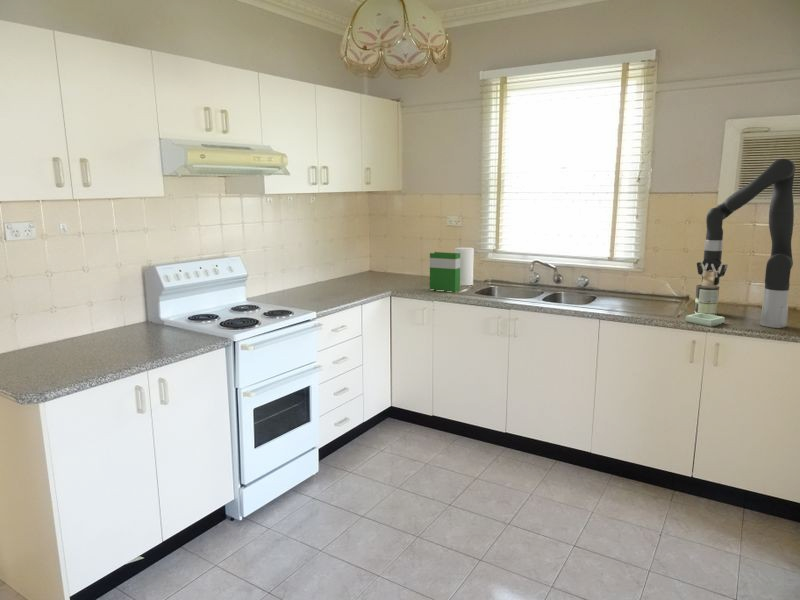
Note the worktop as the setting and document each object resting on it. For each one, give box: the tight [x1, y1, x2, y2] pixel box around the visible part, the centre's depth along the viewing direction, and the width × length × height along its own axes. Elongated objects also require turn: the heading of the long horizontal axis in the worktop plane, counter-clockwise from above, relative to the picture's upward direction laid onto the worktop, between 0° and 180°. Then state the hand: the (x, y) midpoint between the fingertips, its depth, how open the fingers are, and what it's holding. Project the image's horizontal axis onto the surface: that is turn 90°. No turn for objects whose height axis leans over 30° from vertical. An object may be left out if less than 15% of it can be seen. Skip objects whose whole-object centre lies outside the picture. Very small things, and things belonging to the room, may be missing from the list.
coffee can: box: [693, 284, 720, 316], centre depth 283 cm, size 10×10×14 cm
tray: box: [684, 313, 726, 328], centre depth 264 cm, size 12×12×3 cm
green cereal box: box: [429, 251, 461, 293], centre depth 351 cm, size 18×7×24 cm, turn 61°
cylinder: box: [454, 246, 475, 286], centre depth 372 cm, size 12×12×25 cm
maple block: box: [701, 270, 719, 287], centre depth 270 cm, size 5×5×7 cm
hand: (710, 284), depth 271 cm, fingers closed on maple block, 5 cm apart
